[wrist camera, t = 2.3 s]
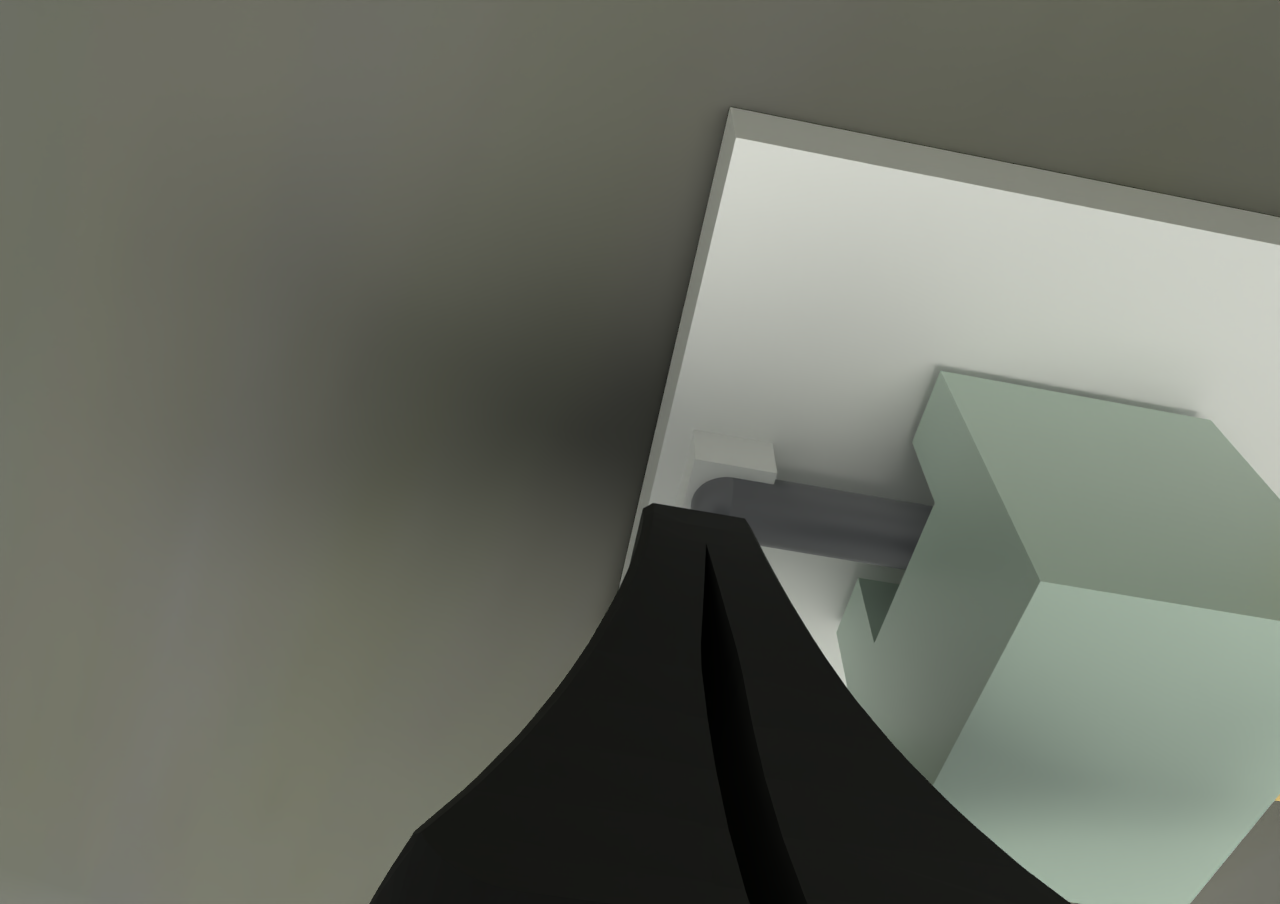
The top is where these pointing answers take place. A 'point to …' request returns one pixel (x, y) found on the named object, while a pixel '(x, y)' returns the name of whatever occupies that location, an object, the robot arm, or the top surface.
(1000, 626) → the pale green notched block
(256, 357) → the top surface
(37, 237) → the top surface
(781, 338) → the board
